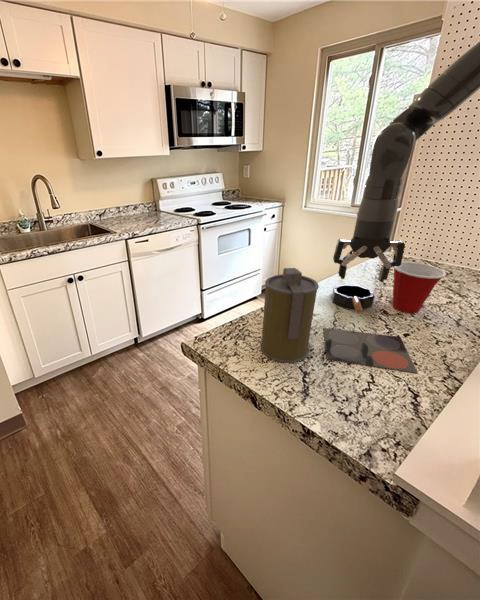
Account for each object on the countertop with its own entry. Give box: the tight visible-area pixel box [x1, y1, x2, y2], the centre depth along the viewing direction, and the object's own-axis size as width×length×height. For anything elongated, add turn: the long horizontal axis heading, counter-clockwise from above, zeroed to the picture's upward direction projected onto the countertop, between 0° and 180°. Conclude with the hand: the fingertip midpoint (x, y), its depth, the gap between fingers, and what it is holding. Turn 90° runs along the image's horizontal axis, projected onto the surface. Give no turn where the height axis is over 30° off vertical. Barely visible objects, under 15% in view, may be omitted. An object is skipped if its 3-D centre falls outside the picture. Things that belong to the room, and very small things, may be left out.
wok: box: [331, 284, 375, 314], centre depth 88 cm, size 10×17×4 cm, turn 155°
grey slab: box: [323, 327, 419, 374], centre depth 71 cm, size 16×14×1 cm
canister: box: [259, 267, 319, 364], centre depth 69 cm, size 11×10×20 cm
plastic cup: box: [392, 261, 447, 314], centre depth 83 cm, size 11×11×12 cm
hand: (361, 279), depth 82 cm, fingers open, 8 cm apart
